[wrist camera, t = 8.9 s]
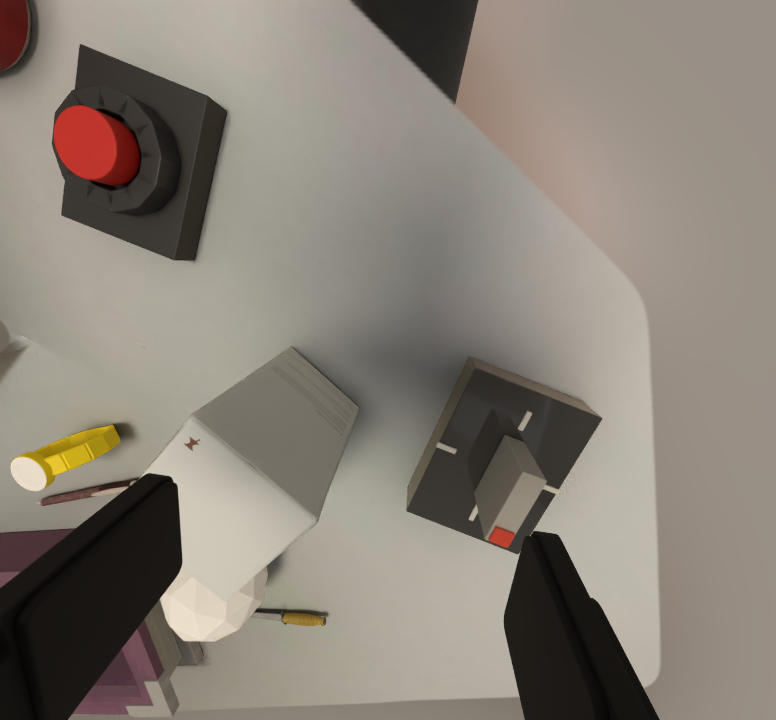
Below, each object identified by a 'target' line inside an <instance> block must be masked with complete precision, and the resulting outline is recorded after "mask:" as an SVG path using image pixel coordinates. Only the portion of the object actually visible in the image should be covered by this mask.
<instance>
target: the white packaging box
mask: <svg viewBox="0 0 776 720" xmlns="http://www.w3.org/2000/svg"><path fill="white" fill-rule="evenodd" d="M358 411H359V407H358V406H356V405H355V404H354V403H353V402H352V401H351V400H350V399H349V398H348V397H347V396H345V395H344V394H343V393H342V392H341V391H340V390H339V389H338V388H337V387H335V386H334V385H333V384H332V383H331V382H330V381H329V380H328V379H327V378H325V377H324V376H323V375H322V374H321V373H320V372H319V371H318V370H317V369H315V368H314V367H313V366H312V365H311V364H310V363H309V362H308V361H307V360H305V359H304V358H303V357H302V356H301V355H300V354H299V353H298V352H296V351H295V350H294V349H293V348H292V347H290V348H289V349H287V350H286V351H284V352H283V353H281V354H280V355H278V356H277V357H275V358H274V359H272V360H271V361H269V362H268V363H267V364H265V365H264V366H262V367H261V368H259V369H258V370H256V371H255V372H253V373H252V374H250V375H249V376H247V377H246V378H244V379H243V380H241V381H240V382H238V383H237V384H236V385H234V386H233V387H231V388H230V389H228V390H227V391H225V392H224V393H222V394H221V395H219V396H218V397H216V398H215V399H213V400H212V401H210V402H209V403H207V404H206V405H204V406H203V407H201V408H200V409H198V410H197V411H195V412H194V413H193V414H191V415H190V416H189V418H188V419H187V420H186V421H185V423H184V424H183V425H182V426H181V428H180V429H179V430H178V431H177V432H176V434H175V435H174V436H173V437H172V439H171V440H170V441H169V442H168V444H167V445H166V446H165V447H164V448H163V450H162V451H161V452H160V453H159V455H158V456H157V457H156V458H155V460H154V461H153V462H152V463H151V465H150V466H149V467H148V468H147V469H146V471H145V472H144V473H143V474H142V476H144V475H145V474H148V473H153V474H159V475H166V476H170V477H172V479H173V482H174V483H176V484H177V486H178V498H179V513H180V528H181V544H182V559H183V561H182V567H181V568H182V569H183V570H184V571H186V572H187V573H188V574H190V575H191V576H192V577H194V578H195V579H196V580H197V581H199V582H200V583H201V584H203V585H204V586H205V587H207V588H208V589H209V590H210V591H212V592H213V593H214V594H215V595H217V596H218V597H219V598H221V599H222V600H223V601H225V602H227V601H228V600H229V599H230V598H231V597H232V596H233V595H234V594H235V593H236V592H238V591H239V590H240V589H241V588H242V587H243V586H244V585H245V584H246V583H247V582H249V581H250V580H251V579H252V578H253V577H254V576H255V575H256V574H257V573H259V572H260V571H261V570H262V569H263V568H265V567H266V566H267V565H268V564H269V563H271V562H272V561H273V560H274V559H275V558H276V557H278V556H279V555H280V554H281V553H282V552H284V551H285V550H286V549H287V548H288V547H289V546H291V545H292V544H293V543H294V542H295V541H297V540H298V539H299V538H300V537H301V536H302V535H304V534H305V533H306V532H307V531H308V530H310V529H311V528H312V527H313V526H314V525H316V524H317V523H318V520H319V517H320V514H321V511H322V507H323V504H324V502H325V499H326V496H327V493H328V491H329V488H330V485H331V483H332V480H333V478H334V475H335V472H336V470H337V467H338V464H339V462H340V459H341V457H342V454H343V451H344V449H345V446H346V444H347V441H348V438H349V436H350V433H351V430H352V428H353V425H354V422H355V419H356V416H357V414H358ZM142 476H141V477H142ZM141 477H140V478H141ZM140 478H139V479H140Z"/></svg>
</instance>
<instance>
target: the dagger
mask: <svg viewBox="0 0 776 720" xmlns="http://www.w3.org/2000/svg"><path fill="white" fill-rule="evenodd" d="M250 617H255V618H263V619H271V620H279V621H282V622H283V623H284V624H285V625H286V624H287V623H289V624H295V625H304V626H315V625H321V626H324V625H325V624H326V618H325V617H318V616H317V615H310V614H303V613H285V612H284V611H283V610H282V611H281V614H276V613H261V612H253V614H252V615H251V616H250Z"/></svg>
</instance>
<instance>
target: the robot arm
mask: <svg viewBox="0 0 776 720" xmlns="http://www.w3.org/2000/svg"><path fill="white" fill-rule="evenodd" d="M182 561H183V559H182V544H181V528H180V513H179V498H178V486H177V484H176V483H174V482H173V479H172V477H170V476H166V475H159V474H153V473H148V474H145V475H144V476H142V477H141V478H140V479H138V480H137V481H136V482H134V483H133V484H132V485H131V486H129V487H128V488H127V489H126V490H124V491H123V492H122V493H120V494H119V495H118V496H117V497H115V498H114V499H113V500H112V501H110V502H109V503H108V504H107V505H105V506H104V507H103V508H101V509H100V510H99V511H98V512H96V513H95V514H94V515H93V516H91V517H90V518H89V519H87V520H86V521H85V522H84V523H82V524H81V525H80V526H79V527H77V528H76V529H75V530H73V531H72V532H71V533H70V534H68V535H67V536H66V537H65V538H63V539H62V540H61V541H59V542H58V543H57V544H56V545H54V546H53V547H52V548H51V549H49V550H48V551H47V552H45V553H44V554H43V555H42V556H40V557H39V558H38V559H37V560H35V561H34V562H33V563H31V564H30V565H29V566H28V567H26V568H25V569H24V570H23V571H21V572H20V573H19V574H17V575H16V576H15V577H14V578H12V579H11V580H10V581H9V582H7V583H6V584H5V585H4V586H2V587H1V588H0V720H68V718H69V717H70V716H71V715H72V713H73V712H74V711H75V709H76V708H77V707H78V706H79V704H80V703H81V702H82V700H83V699H84V698H85V696H86V695H87V694H88V692H89V691H90V690H91V689H92V687H93V686H94V685H95V683H96V682H97V681H98V679H99V678H100V677H101V675H102V674H103V673H104V671H105V670H106V669H107V668H108V666H109V665H110V664H111V662H112V661H113V660H114V658H115V657H116V656H117V654H118V653H119V652H120V651H121V649H122V648H123V647H124V645H125V644H126V643H127V641H128V640H129V639H130V637H131V636H132V635H133V633H134V632H135V631H136V630H137V628H138V627H139V626H140V624H141V623H142V622H143V620H144V619H145V618H146V616H147V615H148V614H149V613H150V611H151V610H152V609H153V607H154V606H155V605H156V603H157V602H158V601H159V599H160V598H161V597H162V595H163V594H164V593H165V592H166V590H167V589H168V588H169V586H170V585H171V584H172V582H173V581H174V580H175V578H176V577H177V576H178V574H179V572H180V570H181V567H182ZM504 629H505V634H506V639H507V643H508V647H509V652H510V656H511V661H512V665H513V669H514V674H515V678H516V683H517V687H518V691H519V696H520V700H521V705H522V709H523V713H524V718H525V720H660V719H659V718H658V716H657V714H656V712H655V710H654V708H653V706H652V704H651V702H650V700H649V698H648V696H647V694H646V693H645V691H644V689H643V687H642V685H641V683H640V681H639V679H638V677H637V675H636V673H635V671H634V669H633V667H632V665H631V663H630V662H629V660H628V658H627V656H626V654H625V652H624V650H623V648H622V646H621V644H620V642H619V640H618V638H617V636H616V635H615V633H614V631H613V629H612V627H611V625H610V623H609V621H608V619H607V617H606V615H605V613H604V611H603V610H602V608H601V606H600V605H599V603H598V602H597V601H596V600H595V599H593V598H590V596H589V594H588V592H587V590H586V588H585V586H584V584H583V582H582V580H581V578H580V576H579V574H578V572H577V570H576V568H575V566H574V564H573V562H572V560H571V558H570V556H569V554H568V552H567V550H566V548H565V546H564V544H563V542H562V540H561V539H560V537H559V536H558V535H557V534H552V533H546V532H539V531H533V533H532V534H531V536H525V538H524V540H523V544H522V548H521V552H520V556H519V560H518V563H517V567H516V571H515V575H514V579H513V582H512V586H511V590H510V594H509V598H508V602H507V605H506V609H505V613H504Z"/></svg>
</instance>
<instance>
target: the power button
mask: <svg viewBox="0 0 776 720" xmlns="http://www.w3.org/2000/svg"><path fill="white" fill-rule="evenodd" d="M54 142H55V147H56V150H57V152H58V155H59V157H60V159H61V160H62V162H63V163H64V164H65V166H66V167H67V168H68V169H69V170H70V171H72V172H73V173H74V174H76V175H77V176H79V177H81V178H84V179H87V180H91V181H96V182H100V183H104V184H108V185H113V186H118V185H123V184H126V183H128V182H129V181H130V180H132V179H133V177H134V176H135V175H136V173H137V171H138V168H139V164H140V153H139V148H138V144H137V142H136V139H135V137H134V136H133V134H132V133H131V131H130V130H129V129H128V128H127V127H126V126H125V125H124V124H123V123H121V122H120V121H118V120H116V119H114V118H112V117H110V116H108V115H105V114H103V113H101V112H99V111H97V110H95V109H93V108H90V107H87V106H83V105H76V106H72V107H69V108H67V109H65V110H64V111H63V112H62V113H61V114H60V115H59V117H58V119H57V121H56V123H55V127H54Z"/></svg>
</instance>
